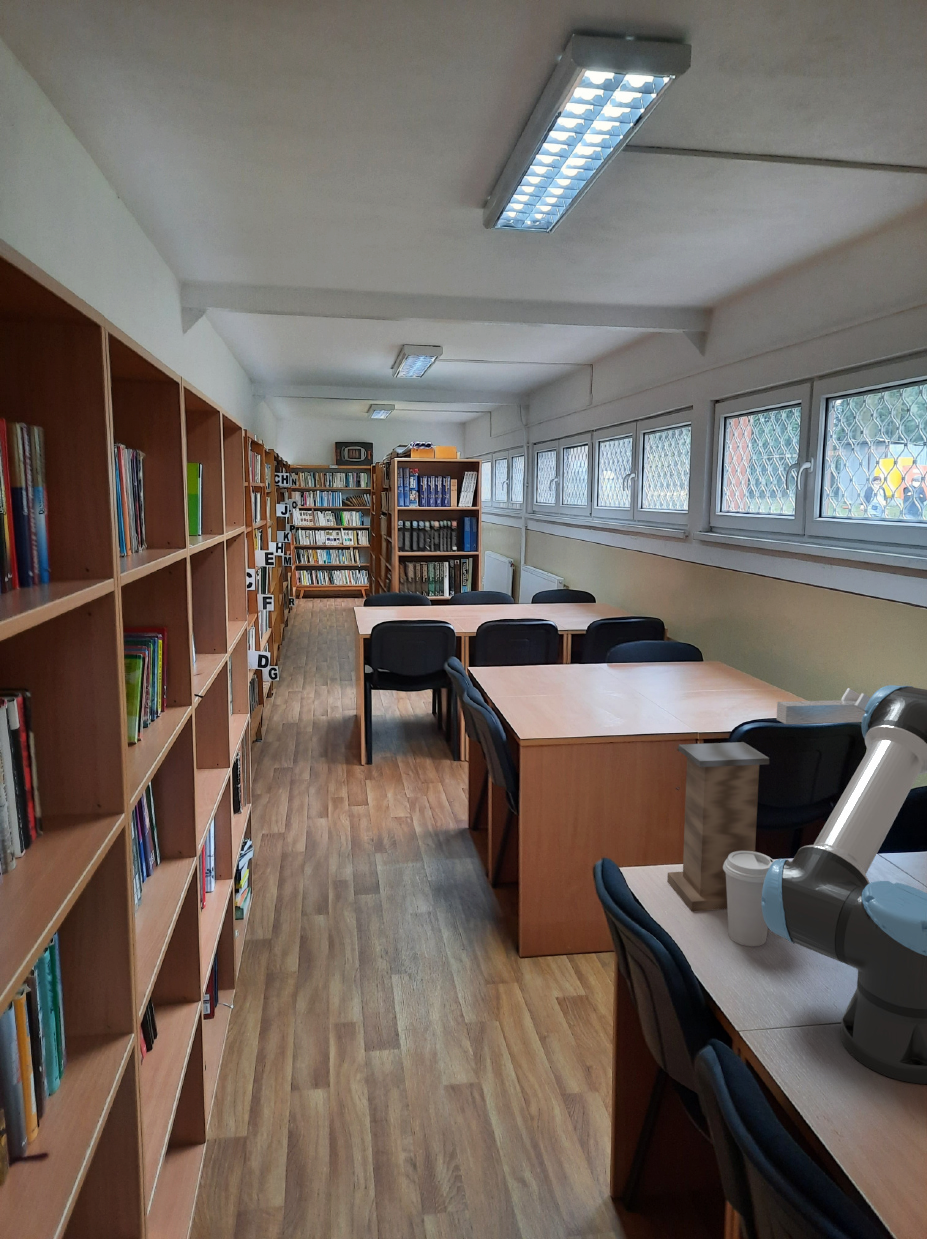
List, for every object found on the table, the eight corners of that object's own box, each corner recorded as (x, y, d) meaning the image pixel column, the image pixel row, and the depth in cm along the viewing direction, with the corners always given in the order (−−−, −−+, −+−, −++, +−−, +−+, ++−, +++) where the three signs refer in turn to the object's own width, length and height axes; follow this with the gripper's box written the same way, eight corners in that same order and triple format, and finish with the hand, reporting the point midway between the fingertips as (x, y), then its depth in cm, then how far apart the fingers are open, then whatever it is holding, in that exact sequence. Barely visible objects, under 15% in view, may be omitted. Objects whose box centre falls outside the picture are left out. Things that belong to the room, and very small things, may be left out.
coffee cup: (769, 956, 146) (773, 875, 144) (714, 942, 151) (717, 863, 149) (779, 932, 154) (783, 855, 152) (726, 919, 159) (729, 844, 157)
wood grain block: (882, 716, 170) (883, 696, 169) (894, 721, 166) (896, 701, 165) (775, 719, 167) (777, 699, 166) (786, 724, 163) (787, 704, 162)
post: (739, 877, 177) (746, 740, 173) (769, 906, 164) (776, 759, 160) (667, 881, 175) (672, 743, 171) (691, 911, 162) (697, 762, 158)
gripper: (961, 779, 162) (868, 723, 158) (904, 753, 179) (819, 702, 174) (981, 746, 161) (889, 689, 157) (922, 723, 178) (837, 672, 174)
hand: (852, 696), depth 166 cm, fingers closed on wood grain block, 4 cm apart
